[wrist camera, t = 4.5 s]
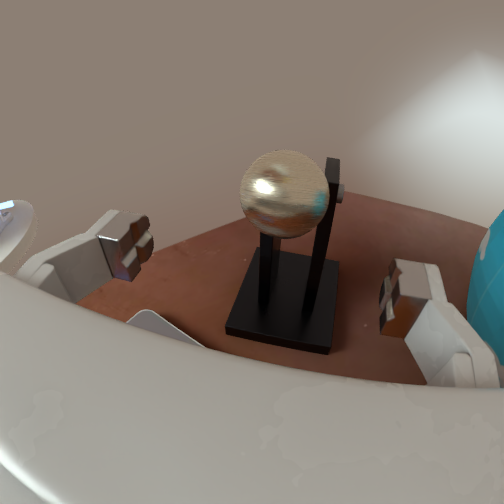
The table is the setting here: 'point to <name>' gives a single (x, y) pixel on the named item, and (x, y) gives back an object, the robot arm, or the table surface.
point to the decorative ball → (489, 293)
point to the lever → (284, 194)
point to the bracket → (291, 288)
